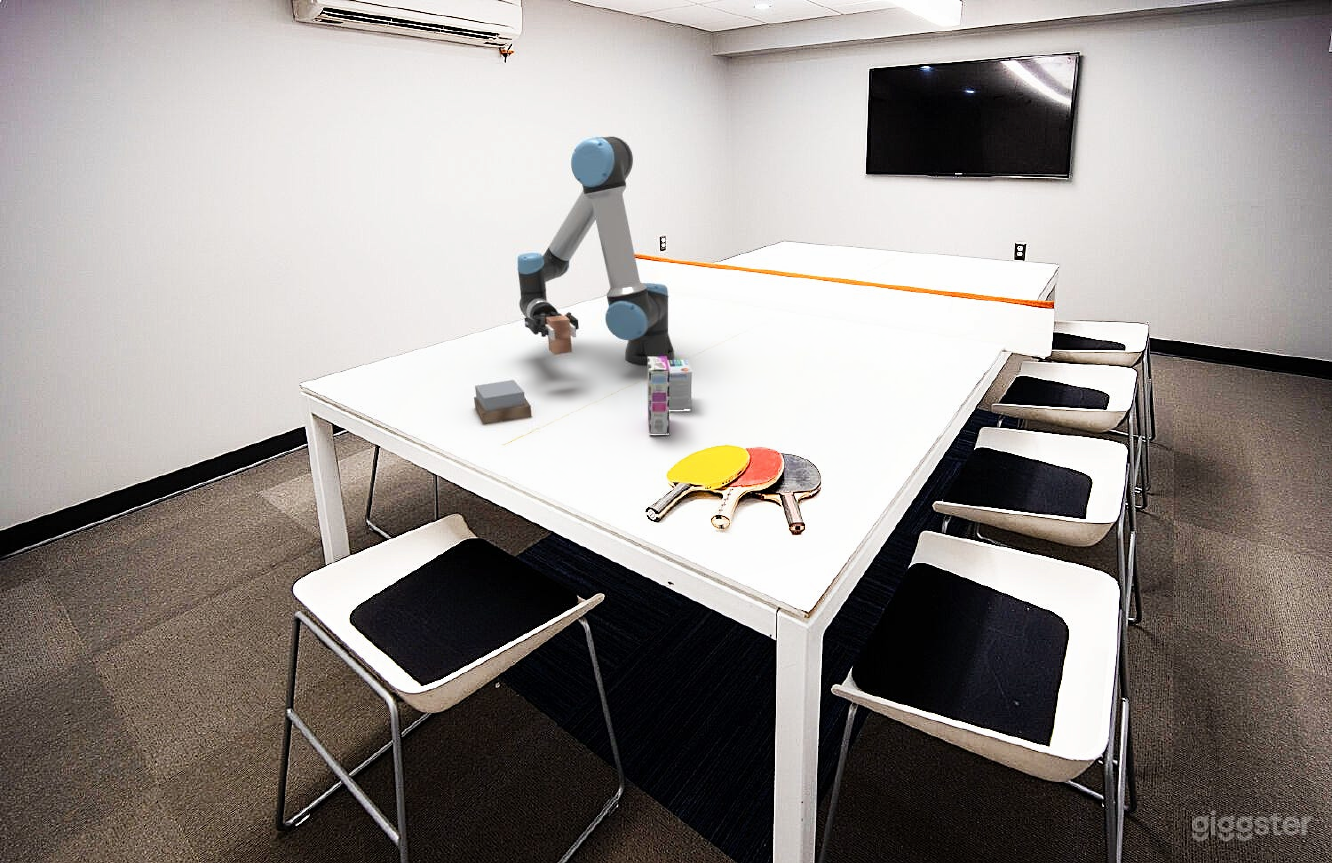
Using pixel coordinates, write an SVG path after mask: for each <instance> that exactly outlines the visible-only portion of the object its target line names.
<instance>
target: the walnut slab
mask: <svg viewBox="0 0 1332 863" xmlns="http://www.w3.org/2000/svg"><path fill="white" fill-rule="evenodd" d="M473 400H474V409H475V410H476V412H477V414H478V416H479V418H480V420H481V422H482V424H483V425H489V424H490V425H491V424H495V423H501V421H503V422H509V421H514V420H515V421H517V420H521V419H527V418H533V417H532V407H531V404H530V403H529V402H528V400H527V399H526V397H525V405H522V406H516V407H510V408H504V409H499V410H493V411H487V412H485V410H484V409H483V407H482V406H481V405H480V403H479V402H478V400H477V399H476V396H474V397H473Z"/></svg>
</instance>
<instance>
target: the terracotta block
mask: <svg viewBox="0 0 1332 863" xmlns="http://www.w3.org/2000/svg"><path fill="white" fill-rule="evenodd" d="M546 321H547V324H548V325H549V326H550V327H551V328H553V329H554V334H555V340H551V339H550V338H549V337H548V336H547V342H548V350H549V351H550V352H551V353H552V354H553V356H554V355H561V354H568V353H573V348H572V336H571V334H570V321H569V319H568V318H567V317H566V316H565V314H562V316H554V317H546Z"/></svg>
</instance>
